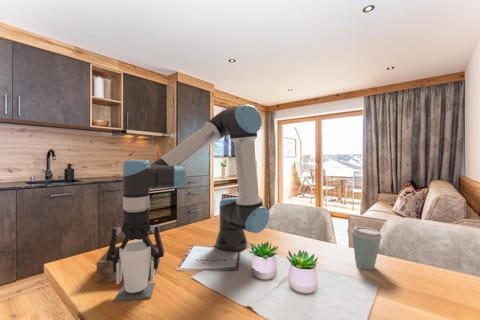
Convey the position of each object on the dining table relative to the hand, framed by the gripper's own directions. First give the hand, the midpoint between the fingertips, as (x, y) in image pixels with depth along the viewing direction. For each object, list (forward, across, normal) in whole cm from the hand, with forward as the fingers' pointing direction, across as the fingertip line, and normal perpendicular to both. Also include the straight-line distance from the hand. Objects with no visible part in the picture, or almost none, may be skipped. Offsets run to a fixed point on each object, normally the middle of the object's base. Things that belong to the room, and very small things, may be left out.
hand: (136, 280), depth 75 cm
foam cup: (+2, 0, 0) cm, 2 cm away
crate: (+4, +5, -15) cm, 16 cm away
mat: (+4, 0, 0) cm, 4 cm away
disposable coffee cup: (+4, -85, -3) cm, 85 cm away
